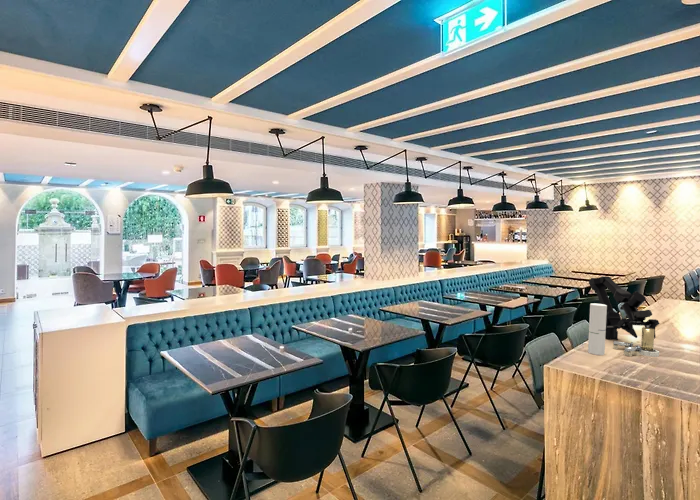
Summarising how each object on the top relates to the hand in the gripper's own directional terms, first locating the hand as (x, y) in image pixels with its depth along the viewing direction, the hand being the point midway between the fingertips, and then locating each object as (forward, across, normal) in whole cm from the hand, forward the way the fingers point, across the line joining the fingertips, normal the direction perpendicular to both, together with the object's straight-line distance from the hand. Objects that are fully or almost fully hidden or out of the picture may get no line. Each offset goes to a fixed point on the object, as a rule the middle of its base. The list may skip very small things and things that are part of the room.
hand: (645, 337), depth 199 cm
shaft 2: (+9, -10, +2) cm, 13 cm away
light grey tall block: (+8, -27, +3) cm, 28 cm away
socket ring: (+7, 0, +4) cm, 8 cm away
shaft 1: (+2, -8, +9) cm, 12 cm away
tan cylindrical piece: (+6, 0, +4) cm, 8 cm away
